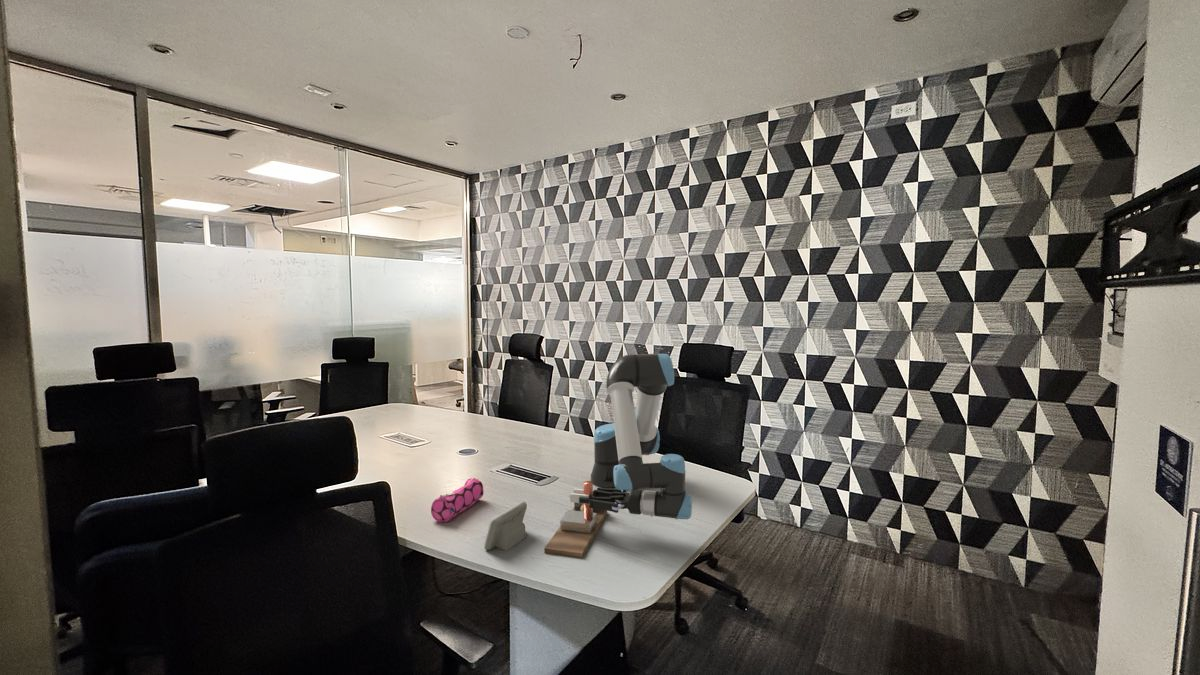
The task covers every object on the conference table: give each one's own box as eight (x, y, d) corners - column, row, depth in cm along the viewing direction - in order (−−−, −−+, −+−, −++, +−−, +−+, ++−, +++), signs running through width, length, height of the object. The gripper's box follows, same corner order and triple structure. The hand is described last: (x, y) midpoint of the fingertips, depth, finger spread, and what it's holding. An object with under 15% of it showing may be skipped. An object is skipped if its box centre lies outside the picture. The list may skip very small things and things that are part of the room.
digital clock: (518, 527, 161) (517, 497, 160) (536, 536, 155) (535, 504, 154) (477, 547, 149) (476, 514, 148) (494, 557, 143) (493, 523, 142)
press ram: (589, 533, 153) (588, 487, 151) (560, 529, 155) (559, 485, 154) (596, 521, 160) (595, 478, 159) (568, 518, 163) (567, 475, 162)
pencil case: (453, 526, 163) (452, 498, 162) (429, 522, 166) (428, 494, 165) (487, 500, 183) (486, 475, 182) (465, 497, 186) (464, 472, 185)
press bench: (582, 558, 141) (581, 538, 141) (544, 552, 145) (543, 534, 144) (607, 513, 170) (607, 496, 170) (575, 509, 173) (575, 493, 173)
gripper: (637, 525, 144) (564, 517, 150) (646, 502, 159) (580, 496, 165) (637, 501, 143) (563, 494, 149) (646, 481, 158) (579, 475, 165)
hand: (572, 495), depth 157 cm, fingers closed on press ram, 3 cm apart
